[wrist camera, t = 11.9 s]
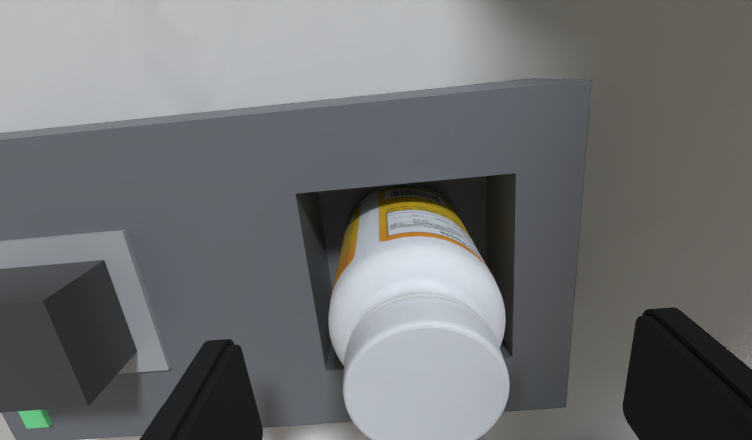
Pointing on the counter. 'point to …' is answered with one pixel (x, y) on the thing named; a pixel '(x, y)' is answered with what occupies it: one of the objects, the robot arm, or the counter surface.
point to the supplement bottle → (417, 321)
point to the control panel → (267, 245)
